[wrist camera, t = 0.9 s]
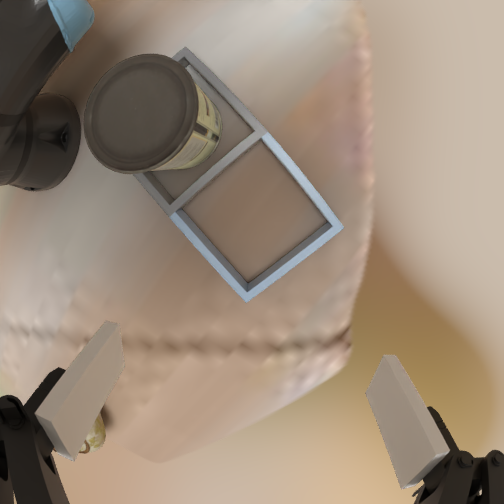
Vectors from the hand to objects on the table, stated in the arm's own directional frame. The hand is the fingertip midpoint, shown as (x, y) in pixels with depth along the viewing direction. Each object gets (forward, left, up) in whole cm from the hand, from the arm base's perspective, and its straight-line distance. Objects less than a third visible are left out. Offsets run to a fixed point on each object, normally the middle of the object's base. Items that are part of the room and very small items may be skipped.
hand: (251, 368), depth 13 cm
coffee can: (-17, +2, -25) cm, 30 cm away
